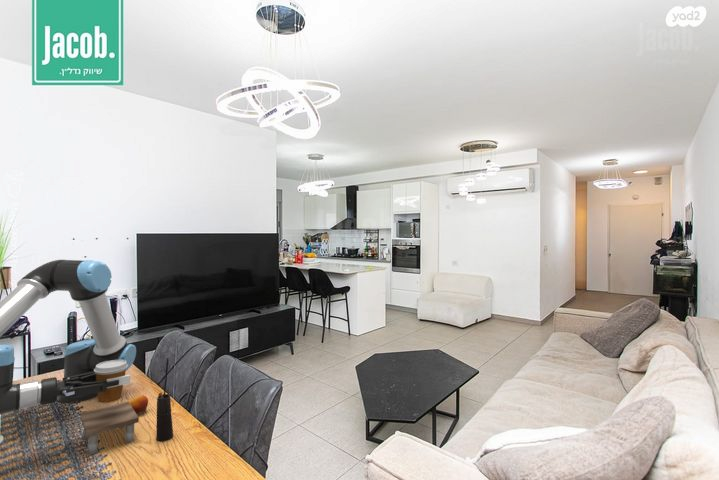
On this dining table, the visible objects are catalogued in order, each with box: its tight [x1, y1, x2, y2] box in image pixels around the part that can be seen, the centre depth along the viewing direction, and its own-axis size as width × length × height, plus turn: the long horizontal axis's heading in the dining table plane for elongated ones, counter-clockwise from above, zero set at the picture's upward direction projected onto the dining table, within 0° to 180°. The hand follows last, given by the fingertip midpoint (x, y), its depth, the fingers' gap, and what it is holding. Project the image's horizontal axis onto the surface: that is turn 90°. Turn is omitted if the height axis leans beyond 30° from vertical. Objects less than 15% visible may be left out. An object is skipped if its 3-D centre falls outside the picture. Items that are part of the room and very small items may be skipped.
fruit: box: [127, 394, 149, 417], centre depth 136 cm, size 8×8×8 cm
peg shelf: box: [79, 400, 140, 456], centre depth 119 cm, size 16×14×8 cm
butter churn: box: [155, 358, 174, 443], centre depth 121 cm, size 9×10×28 cm
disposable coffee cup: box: [94, 360, 128, 404], centre depth 119 cm, size 10×10×12 cm
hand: (127, 375), depth 122 cm, fingers closed on disposable coffee cup, 8 cm apart
